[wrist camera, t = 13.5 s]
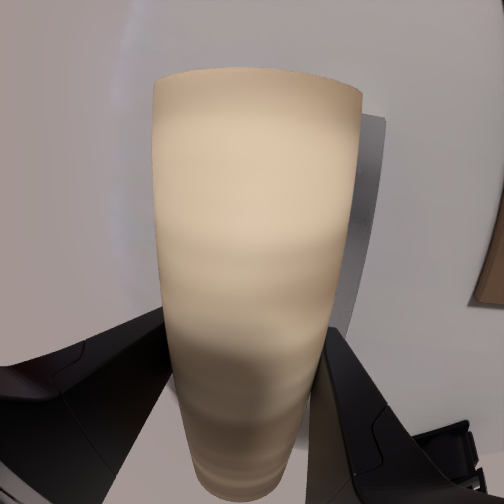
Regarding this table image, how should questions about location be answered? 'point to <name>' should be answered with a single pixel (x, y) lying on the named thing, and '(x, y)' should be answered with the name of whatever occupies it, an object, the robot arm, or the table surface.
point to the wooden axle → (249, 256)
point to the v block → (359, 219)
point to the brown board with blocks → (493, 266)
